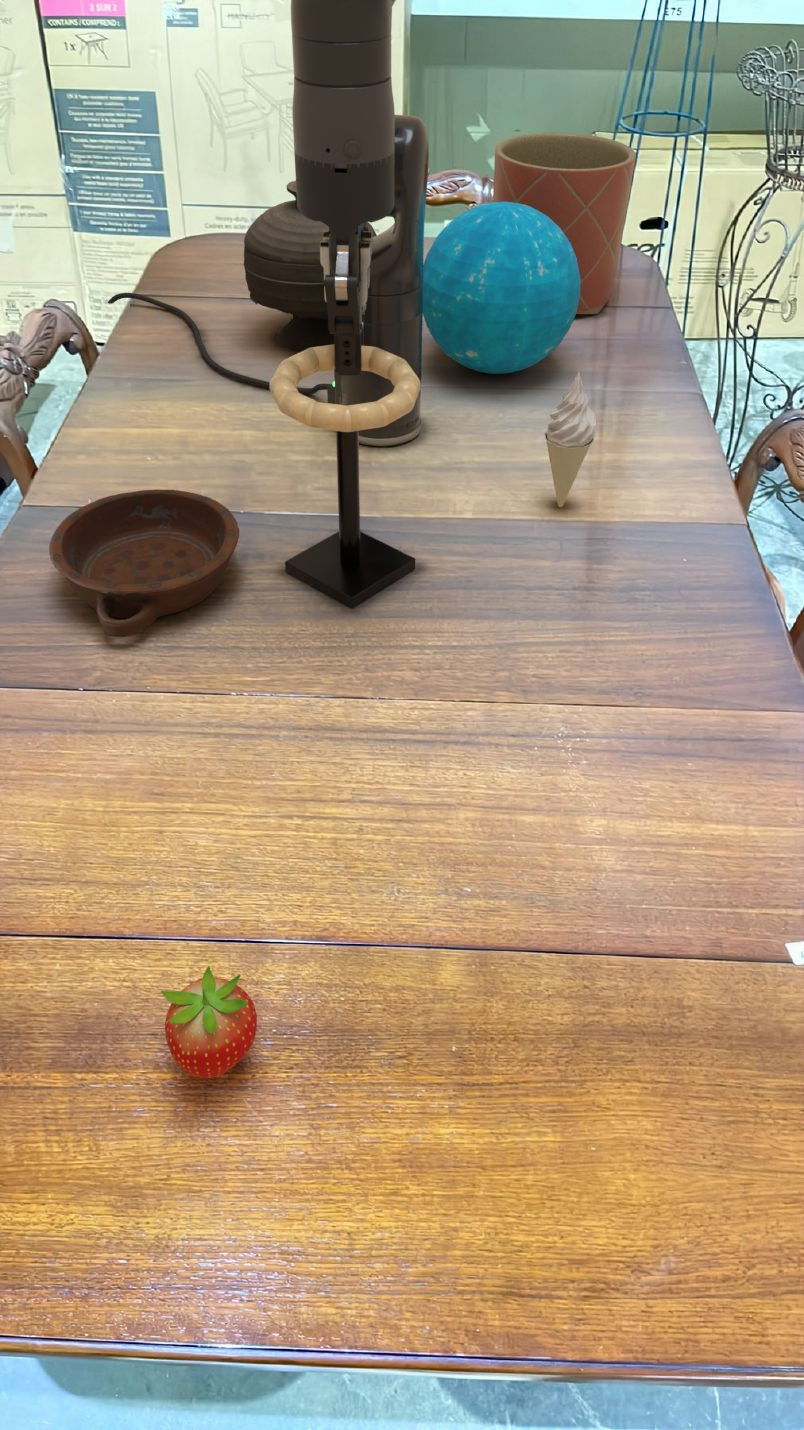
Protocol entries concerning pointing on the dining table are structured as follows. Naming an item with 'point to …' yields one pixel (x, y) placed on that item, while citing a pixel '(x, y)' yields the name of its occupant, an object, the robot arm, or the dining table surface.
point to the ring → (344, 415)
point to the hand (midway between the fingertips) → (349, 365)
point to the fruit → (210, 1025)
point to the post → (349, 543)
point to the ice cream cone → (569, 438)
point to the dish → (144, 554)
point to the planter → (573, 197)
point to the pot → (289, 272)
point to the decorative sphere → (500, 287)
